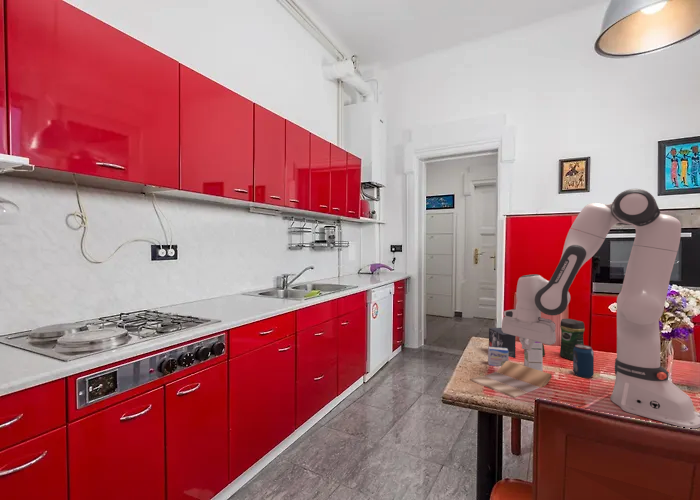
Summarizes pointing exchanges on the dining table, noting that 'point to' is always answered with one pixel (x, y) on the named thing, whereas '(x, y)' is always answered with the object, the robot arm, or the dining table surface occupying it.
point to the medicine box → (497, 356)
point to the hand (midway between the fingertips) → (526, 349)
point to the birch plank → (498, 386)
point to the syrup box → (534, 356)
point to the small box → (502, 340)
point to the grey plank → (512, 382)
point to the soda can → (583, 361)
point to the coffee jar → (570, 336)
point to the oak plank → (525, 373)
